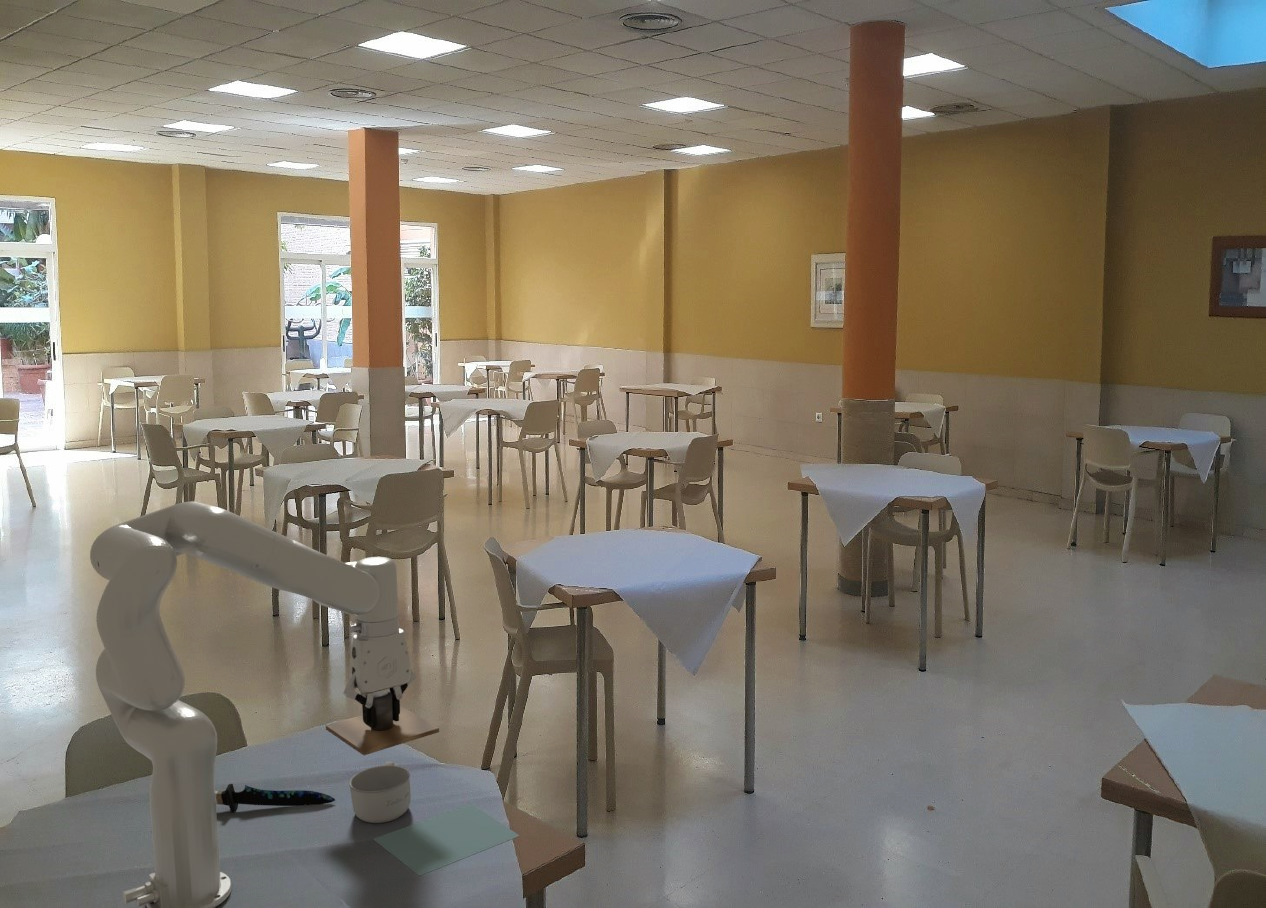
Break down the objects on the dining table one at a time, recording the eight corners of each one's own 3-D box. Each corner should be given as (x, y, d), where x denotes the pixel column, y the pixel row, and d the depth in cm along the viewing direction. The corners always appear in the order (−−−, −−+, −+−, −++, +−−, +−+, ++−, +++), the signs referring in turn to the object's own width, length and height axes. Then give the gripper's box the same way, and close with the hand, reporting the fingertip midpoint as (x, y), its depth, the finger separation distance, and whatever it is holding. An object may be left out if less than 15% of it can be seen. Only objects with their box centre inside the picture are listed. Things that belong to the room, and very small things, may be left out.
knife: (163, 809, 198) (164, 786, 197) (169, 801, 201) (170, 778, 200) (331, 820, 200) (332, 797, 200) (334, 812, 203) (336, 790, 203)
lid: (363, 755, 186) (361, 718, 185) (325, 729, 197) (324, 694, 196) (439, 732, 196) (437, 696, 195) (399, 708, 207) (397, 674, 206)
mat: (419, 881, 175) (419, 875, 175) (373, 844, 187) (373, 838, 187) (520, 841, 188) (519, 835, 188) (470, 808, 200) (470, 803, 200)
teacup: (396, 834, 191) (395, 792, 190) (340, 828, 193) (338, 786, 192) (426, 799, 204) (425, 759, 203) (373, 794, 207) (372, 754, 205)
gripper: (343, 641, 185) (348, 741, 188) (429, 621, 196) (432, 716, 199) (324, 631, 191) (330, 728, 194) (408, 612, 202) (412, 705, 204)
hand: (381, 721), depth 196 cm, fingers closed on lid, 4 cm apart
